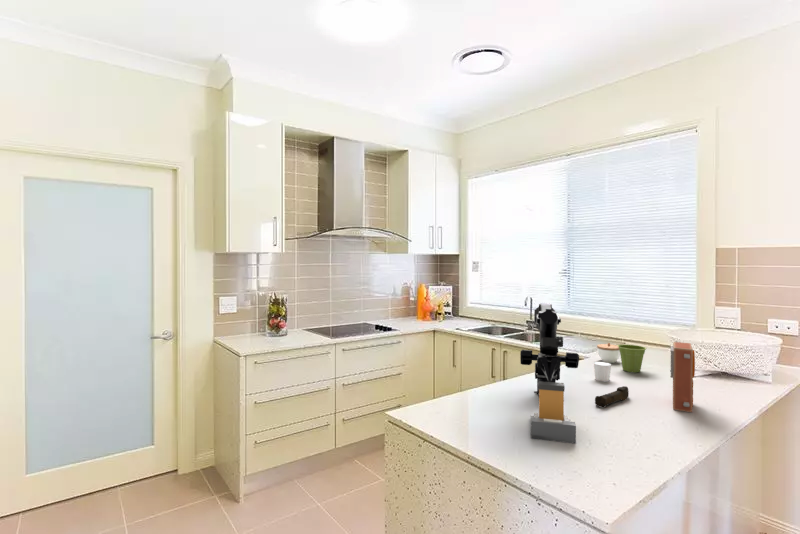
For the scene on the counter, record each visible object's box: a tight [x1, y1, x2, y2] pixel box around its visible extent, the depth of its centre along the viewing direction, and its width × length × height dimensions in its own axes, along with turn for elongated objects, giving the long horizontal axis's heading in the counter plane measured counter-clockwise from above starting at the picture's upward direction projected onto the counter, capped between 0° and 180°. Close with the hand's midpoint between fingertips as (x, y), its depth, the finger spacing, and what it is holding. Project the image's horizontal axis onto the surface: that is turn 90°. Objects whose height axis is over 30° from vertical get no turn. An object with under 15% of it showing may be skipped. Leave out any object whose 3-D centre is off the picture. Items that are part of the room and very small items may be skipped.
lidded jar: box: [596, 342, 621, 364], centre depth 217 cm, size 11×11×9 cm
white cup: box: [593, 361, 612, 382], centre depth 184 cm, size 7×7×7 cm
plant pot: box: [617, 344, 647, 373], centre depth 198 cm, size 12×12×11 cm
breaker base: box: [530, 412, 577, 444], centre depth 129 cm, size 16×12×5 cm
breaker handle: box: [538, 381, 565, 421], centre depth 132 cm, size 3×7×12 cm, turn 73°
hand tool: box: [594, 385, 630, 408], centre depth 154 cm, size 19×4×5 cm, turn 122°
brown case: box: [669, 341, 696, 413], centre depth 150 cm, size 21×7×15 cm
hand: (549, 380), depth 140 cm, fingers closed
